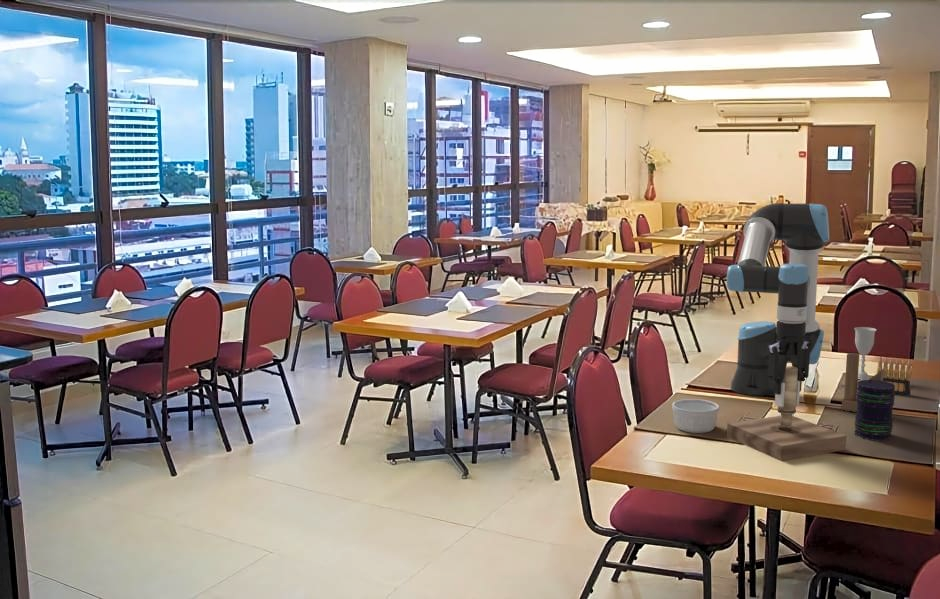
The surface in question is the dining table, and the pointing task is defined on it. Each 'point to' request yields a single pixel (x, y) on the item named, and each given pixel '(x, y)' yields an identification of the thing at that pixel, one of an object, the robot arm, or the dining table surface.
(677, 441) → the dining table surface
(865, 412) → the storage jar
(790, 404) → the beech leg
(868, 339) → the chalice
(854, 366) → the wooden peg block
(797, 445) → the walnut board
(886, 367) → the ammunition clip
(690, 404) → the ramekin
